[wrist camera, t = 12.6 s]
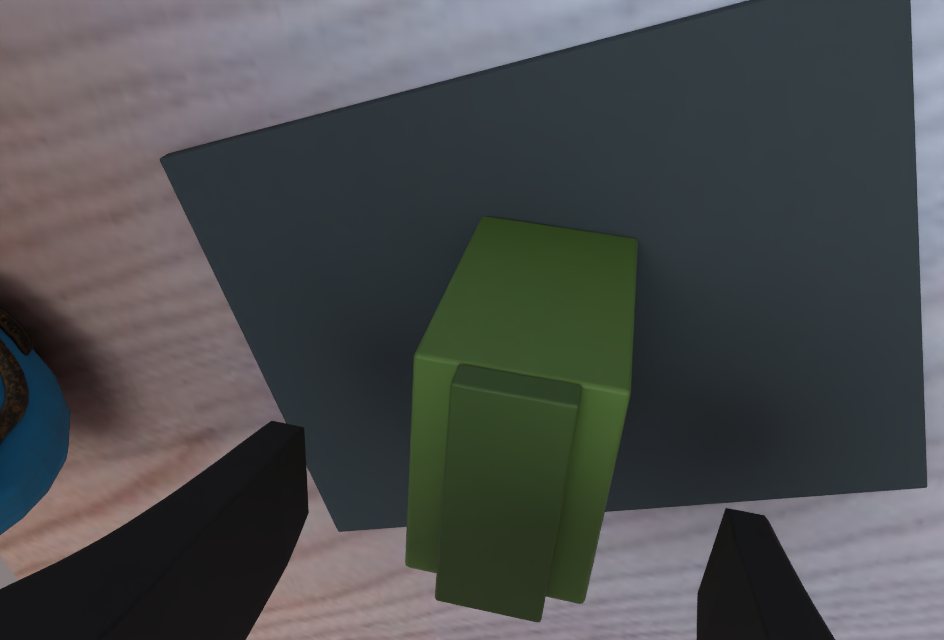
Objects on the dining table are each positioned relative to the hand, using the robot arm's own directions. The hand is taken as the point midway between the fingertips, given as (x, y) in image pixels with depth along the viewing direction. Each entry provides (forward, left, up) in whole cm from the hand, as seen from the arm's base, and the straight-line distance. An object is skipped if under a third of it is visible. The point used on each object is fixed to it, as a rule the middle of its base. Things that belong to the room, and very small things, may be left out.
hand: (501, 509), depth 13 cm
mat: (0, 0, -7) cm, 7 cm away
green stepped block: (0, 0, -6) cm, 6 cm away
